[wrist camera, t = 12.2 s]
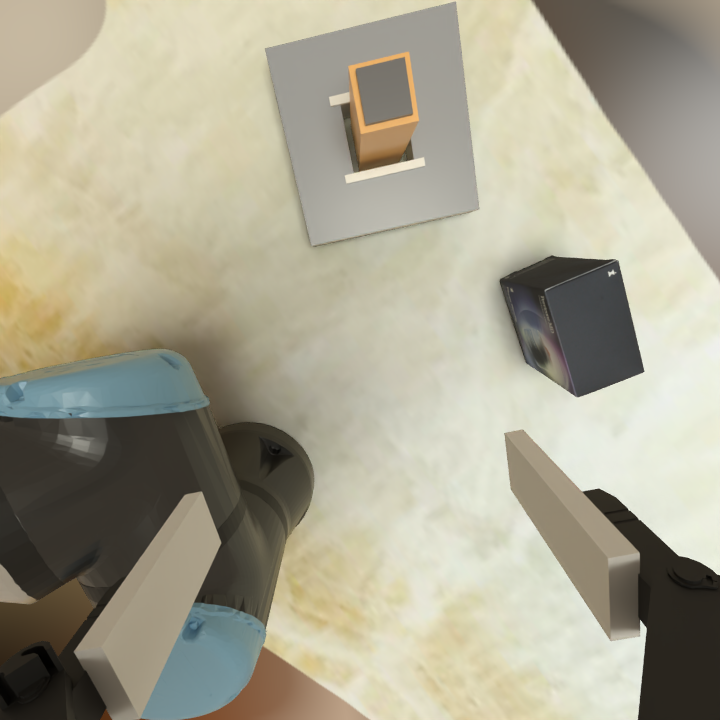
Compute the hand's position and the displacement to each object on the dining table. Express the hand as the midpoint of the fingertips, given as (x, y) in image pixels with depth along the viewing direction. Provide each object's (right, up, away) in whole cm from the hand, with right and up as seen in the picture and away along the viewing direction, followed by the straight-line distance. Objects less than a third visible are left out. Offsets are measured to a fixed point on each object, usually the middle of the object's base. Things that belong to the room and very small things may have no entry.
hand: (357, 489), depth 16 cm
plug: (+2, +26, +20) cm, 33 cm away
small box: (+20, +11, +25) cm, 34 cm away
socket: (+2, +26, +20) cm, 33 cm away
